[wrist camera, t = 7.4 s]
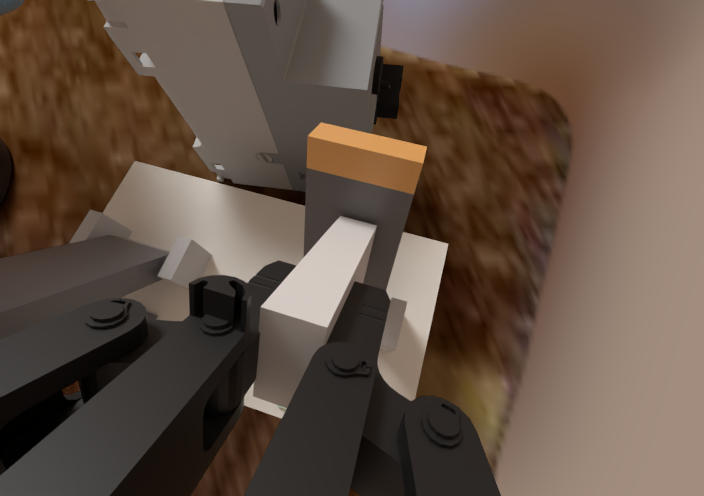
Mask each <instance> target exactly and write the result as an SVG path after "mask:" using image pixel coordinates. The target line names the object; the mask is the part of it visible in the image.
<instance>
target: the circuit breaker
mask: <svg viewBox="0 0 704 496" xmlns="http://www.w3.org/2000/svg"><path fill="white" fill-rule="evenodd" d="M87 1H93V0H87ZM94 1H95V2H96V4H97V6H98V7H99V9H100V10H101V12H102V14H103V15H104V17H105V19H106V20H107V22H106V23H105V25H104V28H105V30H106V31H107V33H108V34H109V36H110V38H111V39H112V40H113V42H114V43H115V44H116V46H117V47H118V48H119V50H120V51H121V52H122V54H123V55H124V56H125V58H126V59H127V60H128V62H129V63H130V64H131V66H132V67H133V68H134V70H135V71H136V72H137V74H138V75H145V76H155V78H156V79H157V81H158V82H159V84H160V85H161V86H162V88H163V89H164V91H165V92H166V94H167V95H168V96H169V98H170V99H171V101H172V102H173V104H174V105H175V106H176V108H177V109H178V111H179V112H180V114H181V115H182V116H183V118H184V119H185V121H186V122H187V124H188V125H189V126H190V128H191V129H192V131H193V132H194V134H195V135H196V136H197V137H196V140H195V143H194V145H193V148H194V149H195V151H196V152H197V153H198V155H199V156H200V157H201V159H202V160H203V161H204V163H205V164H206V165H207V167H208V168H209V169H210V171H214V172H216V173H217V175H218V176H217V180H218V181H219V182H224V179H225V178H227V179H231V180H232V182H233V183H236V184H244V185H253V186H261V187H270V188H278V189H287V190H295V191H304V192H306V169H307V139H308V135H309V134H310V133H311V132H312V131H313V130H314V129H315V128H316V127H317V126H318V125H319V124H320V123H321V122H322V123H326V124H331V125H335V126H339V127H344V128H348V129H352V130H357V131H361V132H365V133H370V134H371V130H372V129H373V124H376V121H377V117H382V118H392V119H397V114H398V106H399V92H400V88H401V81H402V73H403V66H400V65H388V64H383V57H381V56H380V48H381V33H382V19H383V0H94ZM135 52H137V53H142V55H141V57H140V59H139V58H138V57H137V55H136V54H135ZM213 163H217V164H221V166H220V165H214V164H213Z"/></svg>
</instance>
